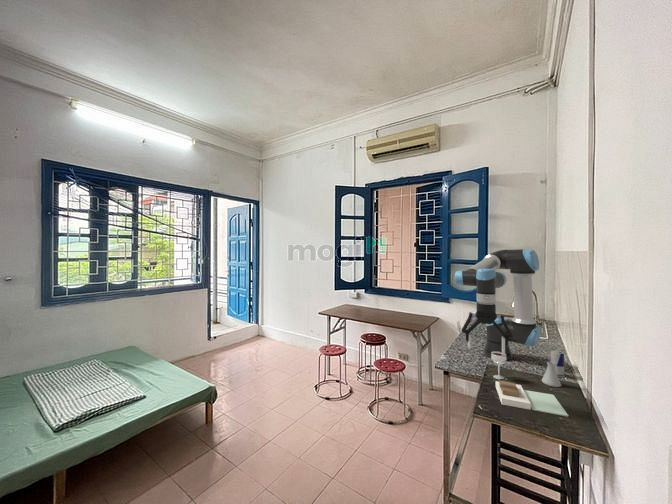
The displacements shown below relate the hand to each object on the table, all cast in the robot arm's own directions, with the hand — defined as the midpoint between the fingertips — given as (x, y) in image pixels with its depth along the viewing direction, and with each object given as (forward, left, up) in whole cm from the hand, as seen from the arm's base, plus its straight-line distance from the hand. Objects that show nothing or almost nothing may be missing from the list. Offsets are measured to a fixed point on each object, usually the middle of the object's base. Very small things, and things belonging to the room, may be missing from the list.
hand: (486, 350), depth 120 cm
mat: (0, +21, -19) cm, 28 cm away
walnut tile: (0, +9, -17) cm, 19 cm away
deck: (0, +10, -19) cm, 21 cm away
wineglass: (-19, +8, -19) cm, 28 cm away
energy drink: (-33, +36, -19) cm, 52 cm away
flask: (-21, +30, -19) cm, 41 cm away
